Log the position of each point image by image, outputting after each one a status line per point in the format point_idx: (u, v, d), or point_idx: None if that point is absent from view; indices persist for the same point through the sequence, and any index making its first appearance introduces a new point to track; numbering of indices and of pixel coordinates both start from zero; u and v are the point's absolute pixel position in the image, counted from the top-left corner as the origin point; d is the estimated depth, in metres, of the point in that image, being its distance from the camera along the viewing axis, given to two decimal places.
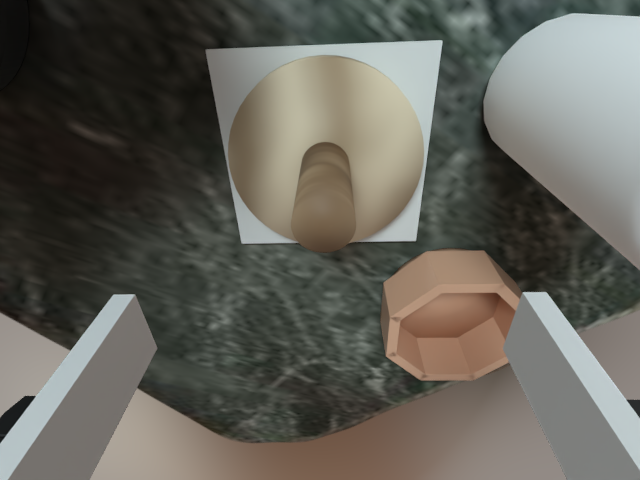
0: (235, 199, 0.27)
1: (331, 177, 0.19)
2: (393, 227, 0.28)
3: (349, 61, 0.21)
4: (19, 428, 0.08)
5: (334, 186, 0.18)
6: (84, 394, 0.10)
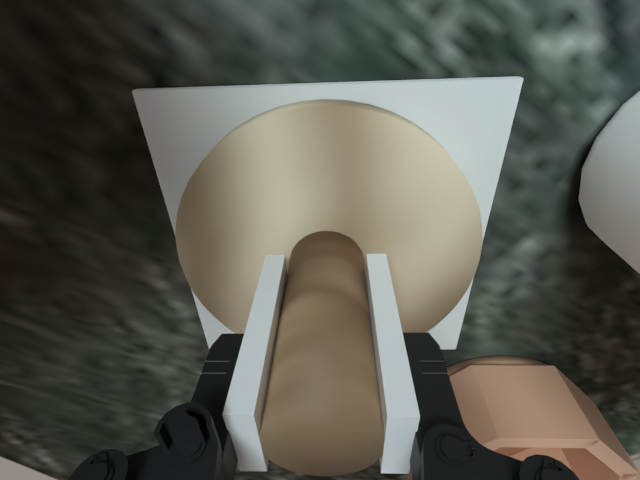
0: (196, 296, 0.19)
1: (338, 332, 0.10)
2: None
3: (368, 113, 0.12)
4: (246, 351, 0.10)
5: (342, 364, 0.09)
6: (274, 331, 0.11)
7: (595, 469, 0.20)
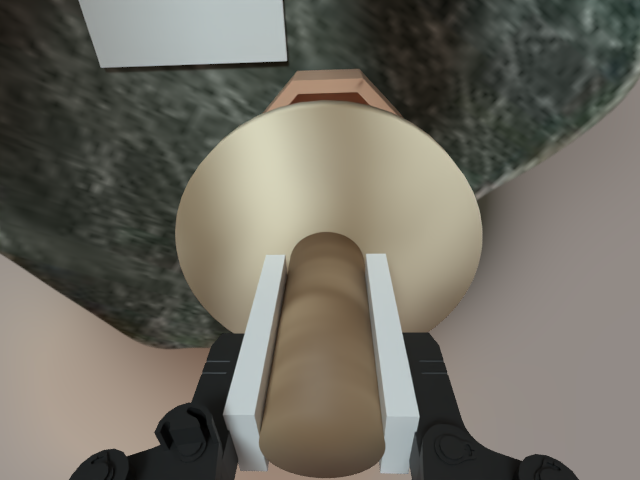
0: (81, 3, 0.25)
1: (337, 334, 0.10)
2: (259, 41, 0.26)
3: (368, 114, 0.12)
4: (246, 351, 0.10)
5: (342, 366, 0.09)
6: (275, 331, 0.11)
7: None
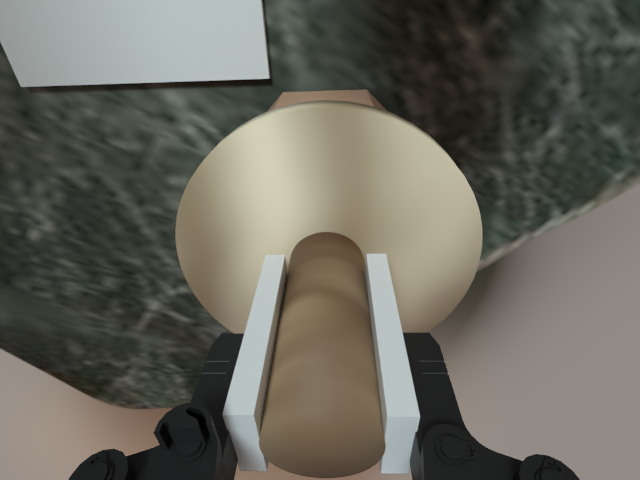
0: None
1: (338, 334, 0.10)
2: (231, 52, 0.19)
3: (368, 114, 0.12)
4: (246, 351, 0.10)
5: (342, 366, 0.09)
6: (274, 331, 0.11)
7: None
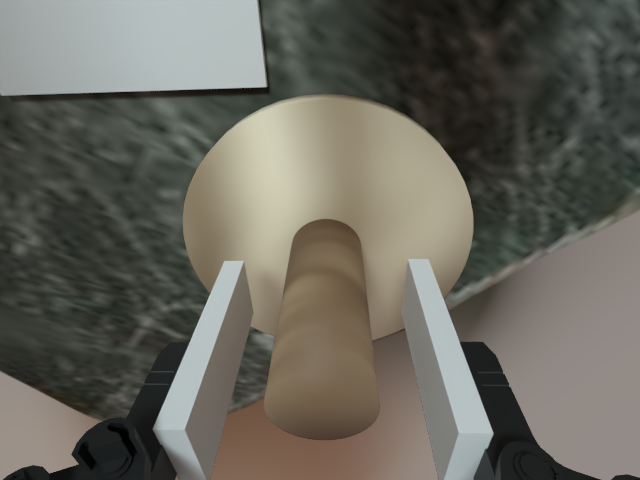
0: None
1: (336, 308, 0.11)
2: (225, 59, 0.18)
3: (365, 106, 0.13)
4: (188, 362, 0.10)
5: (340, 335, 0.10)
6: (224, 340, 0.11)
7: None
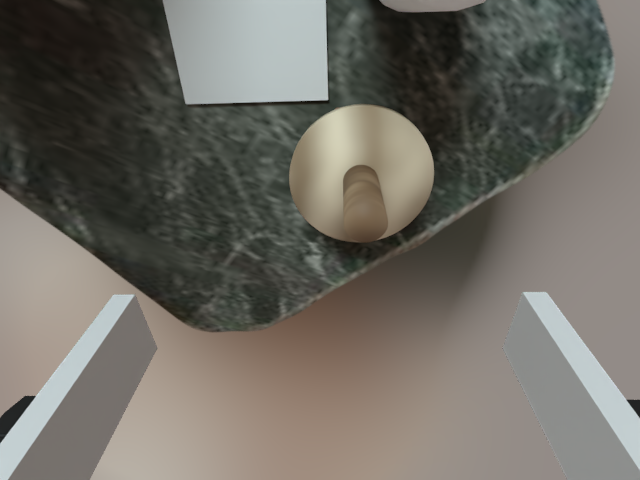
0: (177, 58, 0.33)
1: (370, 190, 0.27)
2: (307, 86, 0.34)
3: (381, 109, 0.29)
4: (19, 428, 0.08)
5: (372, 197, 0.26)
6: (84, 394, 0.10)
7: None
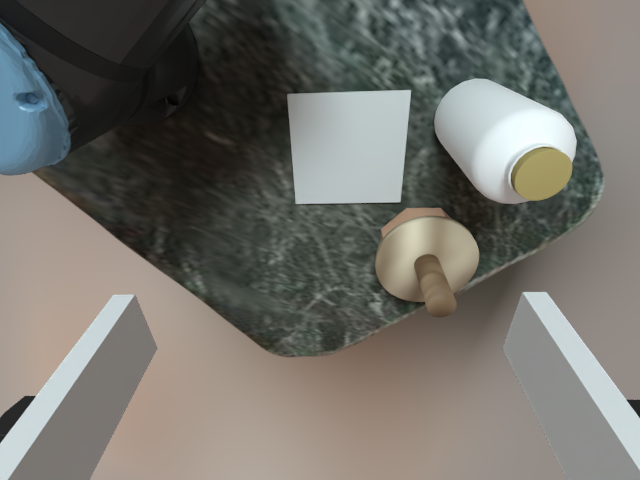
0: (294, 176, 0.47)
1: (442, 282, 0.41)
2: (386, 193, 0.48)
3: (446, 222, 0.43)
4: (19, 428, 0.08)
5: (445, 288, 0.40)
6: (84, 394, 0.10)
7: None
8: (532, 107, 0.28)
